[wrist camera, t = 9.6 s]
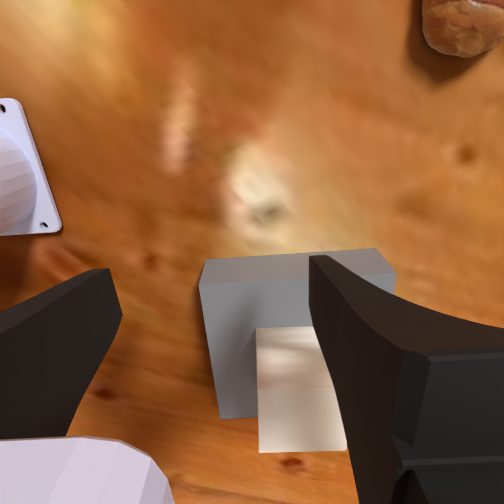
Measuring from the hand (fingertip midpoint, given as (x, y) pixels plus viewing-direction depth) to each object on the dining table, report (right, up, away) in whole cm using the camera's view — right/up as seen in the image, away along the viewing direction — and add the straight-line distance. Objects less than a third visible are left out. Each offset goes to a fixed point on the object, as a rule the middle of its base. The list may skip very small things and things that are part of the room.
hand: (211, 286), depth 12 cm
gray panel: (+5, -4, +14) cm, 15 cm away
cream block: (+4, -6, +10) cm, 13 cm away
